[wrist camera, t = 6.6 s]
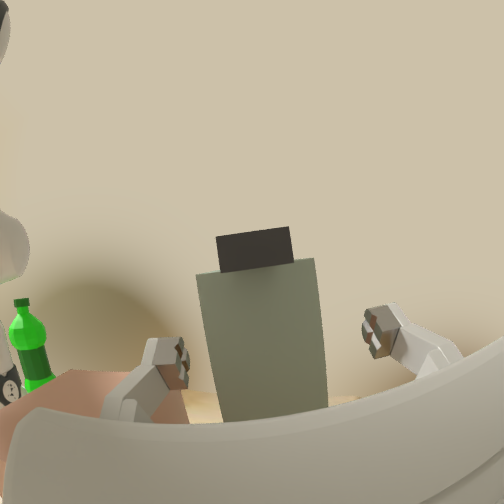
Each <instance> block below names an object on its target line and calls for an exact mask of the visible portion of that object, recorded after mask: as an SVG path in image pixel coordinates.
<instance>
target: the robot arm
mask: <svg viewBox="0 0 504 504" xmlns="http://www.w3.org/2000/svg"><path fill="white" fill-rule="evenodd" d="M9 37H10V19H9V15H8V6H7V5H6V3H5V2H4V1H2V0H0V64H1V62H2V59H3V57H4V55H5V52H6V49H7V46H8V42H9ZM29 251H30V247H29V240H28V236H27V233H26V231H25V229H24V227H23V226H22V224H21V223H20V222H19V221H18V220H17V219H15V218H13V217H11V216H9V215H7V214H5V213H4V212H3V211H1V210H0V284H2V283H5V282H8V281H11V280H13V279H15V278H18V277H20V276H22V274H23V272H24V271H25V269H26V266H27V264H28V260H29ZM364 317H365V319H366V320H365V321H364V322H363V323H362V335H363V338H364V341H365V342H366V343H368V344H369V345H370V347H369V350H370V352H371V354H372V356H373V358H374V359H377V358H382V357H386V356H389V355H390V356H391V357H392V358H393V359H395V360H396V361H398V362H399V363H401V364H402V365H403V366H405V367H406V368H408V369H409V370H411V371H412V372H413V373H415V374H416V375H417V377H416V379H415V380H414V381H412V382H409V383H406V384H404V385H401V386H398V387H396V388H393V389H390V390H387V391H384V392H381V393H378V394H374V395H371V396H368V397H365V398H361V399H358V400H354V401H350V402H347V403H343V404H339V405H335V406H331V407H327V408H322V409H318V410H313V411H308V412H303V413H297V414H292V415H286V416H279V417H273V418H265V419H257V420H248V421H238V422H225V423H206V424H157V423H154V422H153V421H152V420H151V419H150V417H151V416H152V415H153V413H154V412H155V411H156V409H157V408H158V407H159V405H160V404H161V402H162V401H163V400H164V398H165V397H166V396H167V394H168V393H169V392H170V390H182V389H188V381H189V377H188V374H187V372H188V370H189V369H190V359H189V354H188V351H187V349H185V348H184V341H183V339H182V337H165V338H149V339H148V340H147V344H146V347H145V351H144V355H143V358H142V362H141V366H137V367H136V368H135V369H134V370H133V371H132V372H131V373H130V374H128V375H127V376H126V377H125V378H124V379H123V380H122V381H121V382H120V383H119V384H118V385H117V386H116V387H115V388H114V389H113V390H112V391H111V392H110V393H108V394H107V395H106V396H105V399H104V403H103V406H102V410H101V414H100V417H99V418H94V417H87V416H81V415H76V414H71V413H66V412H61V411H56V410H52V409H48V408H43V407H36V408H35V409H33V410H32V411H30V412H29V413H28V414H27V415H26V416H24V417H23V418H22V419H21V420H20V421H19V422H18V423H17V425H16V427H15V430H14V433H13V436H12V440H11V444H10V447H9V452H8V457H7V462H6V468H5V475H4V484H3V501H2V504H504V336H502V337H501V338H499V339H497V340H496V341H494V342H493V343H491V344H489V345H487V346H486V347H484V348H482V349H480V350H478V351H477V352H475V353H473V354H471V355H469V356H468V357H465V358H464V357H463V356H462V354H461V353H460V351H459V350H458V348H457V347H456V346H455V344H454V343H453V342H452V341H451V340H449V339H447V338H444V337H442V336H440V335H438V334H436V333H434V332H432V331H430V330H428V329H426V328H423V327H421V326H419V325H417V324H415V323H414V324H412V323H411V322H410V321H409V320H408V318H407V317H406V315H405V314H404V312H403V311H402V310H401V308H400V307H399V306H398V305H397V303H395V302H393V303H389V304H385V305H382V306H377V307H373V308H369V309H366V311H365V314H364ZM26 394H28V393H27V391H26V389H24V388H23V387H21V380H20V377H19V373H18V371H17V369H16V366H15V365H14V364H13V362H12V359H11V354H10V351H9V347H8V343H7V338H6V334H5V329H4V326H3V324H2V322H1V321H0V409H1V408H3V407H5V406H7V405H8V404H10V403H12V402H14V401H16V400H17V399H19V398H21V397H23V396H25V395H26Z"/></svg>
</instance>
